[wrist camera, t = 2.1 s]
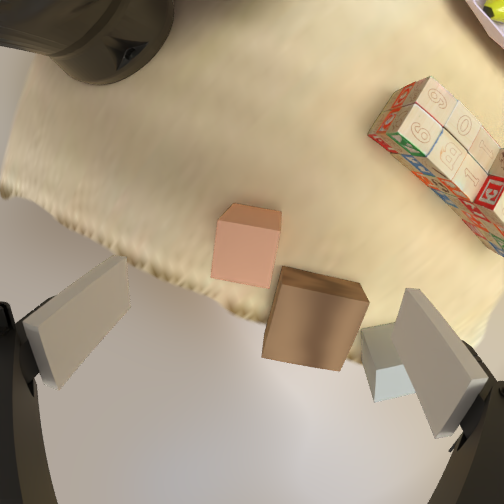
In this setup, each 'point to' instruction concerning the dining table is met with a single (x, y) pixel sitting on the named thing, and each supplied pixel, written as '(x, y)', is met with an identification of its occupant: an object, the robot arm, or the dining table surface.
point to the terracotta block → (246, 245)
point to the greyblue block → (384, 364)
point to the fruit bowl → (490, 17)
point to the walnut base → (313, 319)
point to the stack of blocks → (447, 154)
